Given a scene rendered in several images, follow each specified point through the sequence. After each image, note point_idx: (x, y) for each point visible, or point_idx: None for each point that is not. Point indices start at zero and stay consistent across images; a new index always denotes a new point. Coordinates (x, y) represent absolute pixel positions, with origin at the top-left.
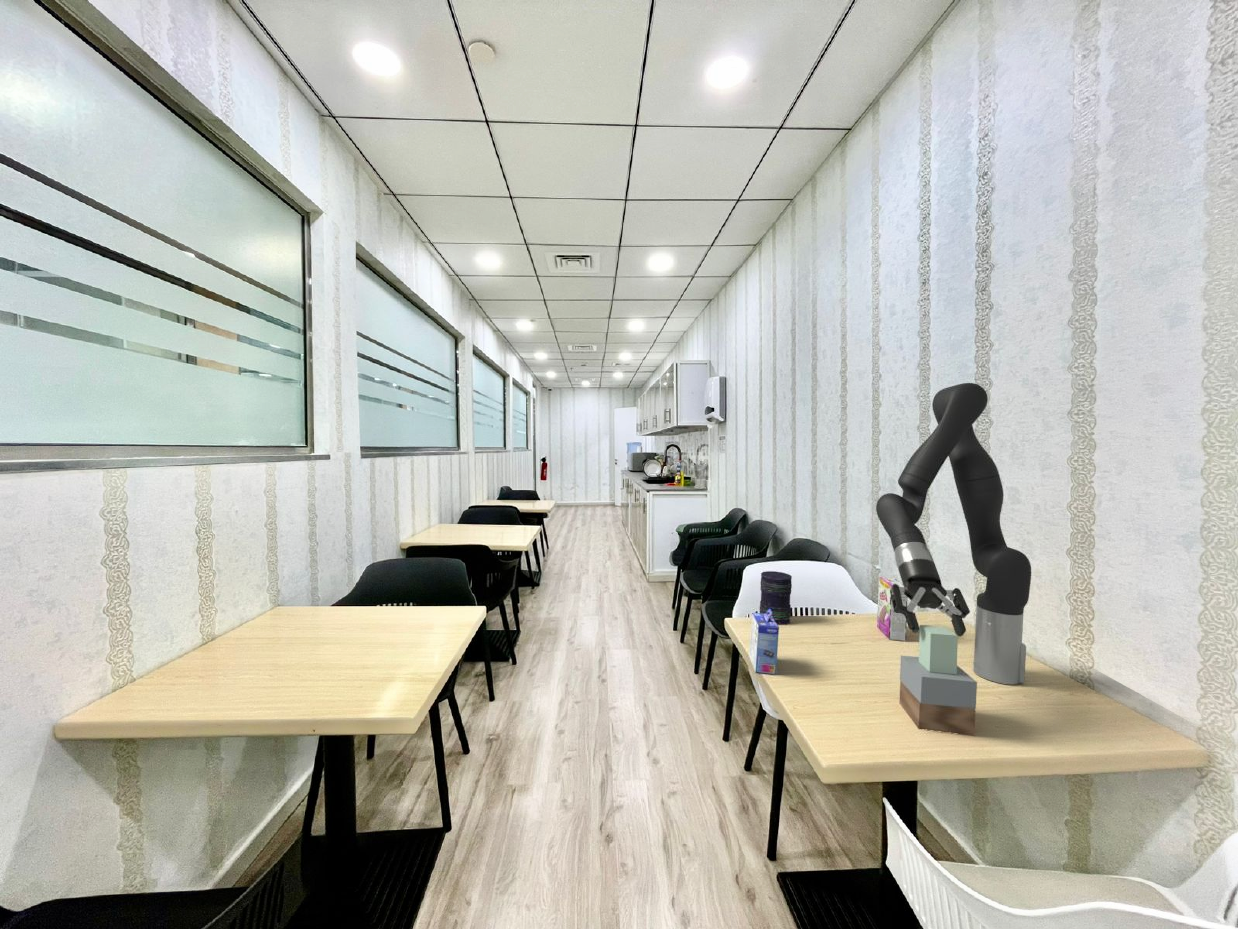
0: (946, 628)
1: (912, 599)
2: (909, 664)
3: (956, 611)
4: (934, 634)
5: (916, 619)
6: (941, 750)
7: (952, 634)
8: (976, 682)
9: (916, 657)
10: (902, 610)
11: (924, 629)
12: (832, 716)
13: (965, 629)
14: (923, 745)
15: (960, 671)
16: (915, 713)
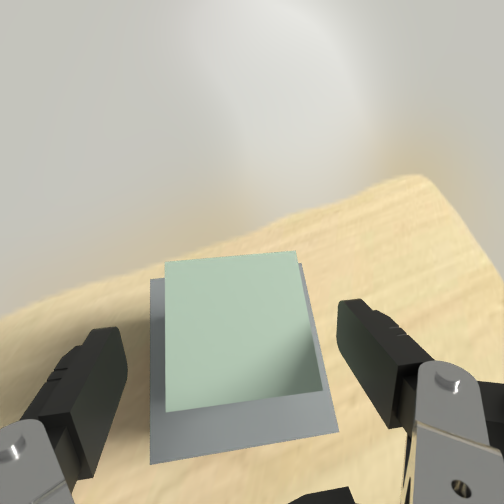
0: (173, 378)
1: (501, 459)
2: (320, 348)
3: (17, 453)
4: (277, 254)
5: (370, 328)
6: (260, 246)
7: (186, 269)
8: (151, 279)
9: (282, 434)
10: (490, 382)
11: (308, 325)
12: (433, 294)
13: (67, 355)
14: (285, 251)
15: (164, 347)
16: None
